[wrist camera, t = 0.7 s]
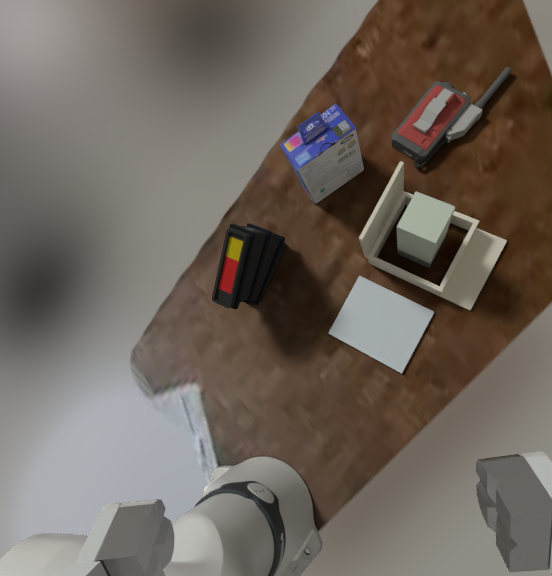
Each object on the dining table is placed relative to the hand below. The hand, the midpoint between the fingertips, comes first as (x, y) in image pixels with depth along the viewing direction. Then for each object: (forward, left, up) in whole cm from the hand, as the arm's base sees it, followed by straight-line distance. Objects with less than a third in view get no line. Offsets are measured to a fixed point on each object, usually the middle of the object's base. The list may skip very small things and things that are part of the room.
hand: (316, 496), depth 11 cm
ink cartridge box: (+27, +23, -54) cm, 64 cm away
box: (+22, +5, -53) cm, 58 cm away
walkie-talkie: (+43, +11, -54) cm, 70 cm away
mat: (+9, +5, -53) cm, 54 cm away
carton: (+22, +3, -53) cm, 58 cm away
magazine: (+7, +25, -54) cm, 60 cm away
